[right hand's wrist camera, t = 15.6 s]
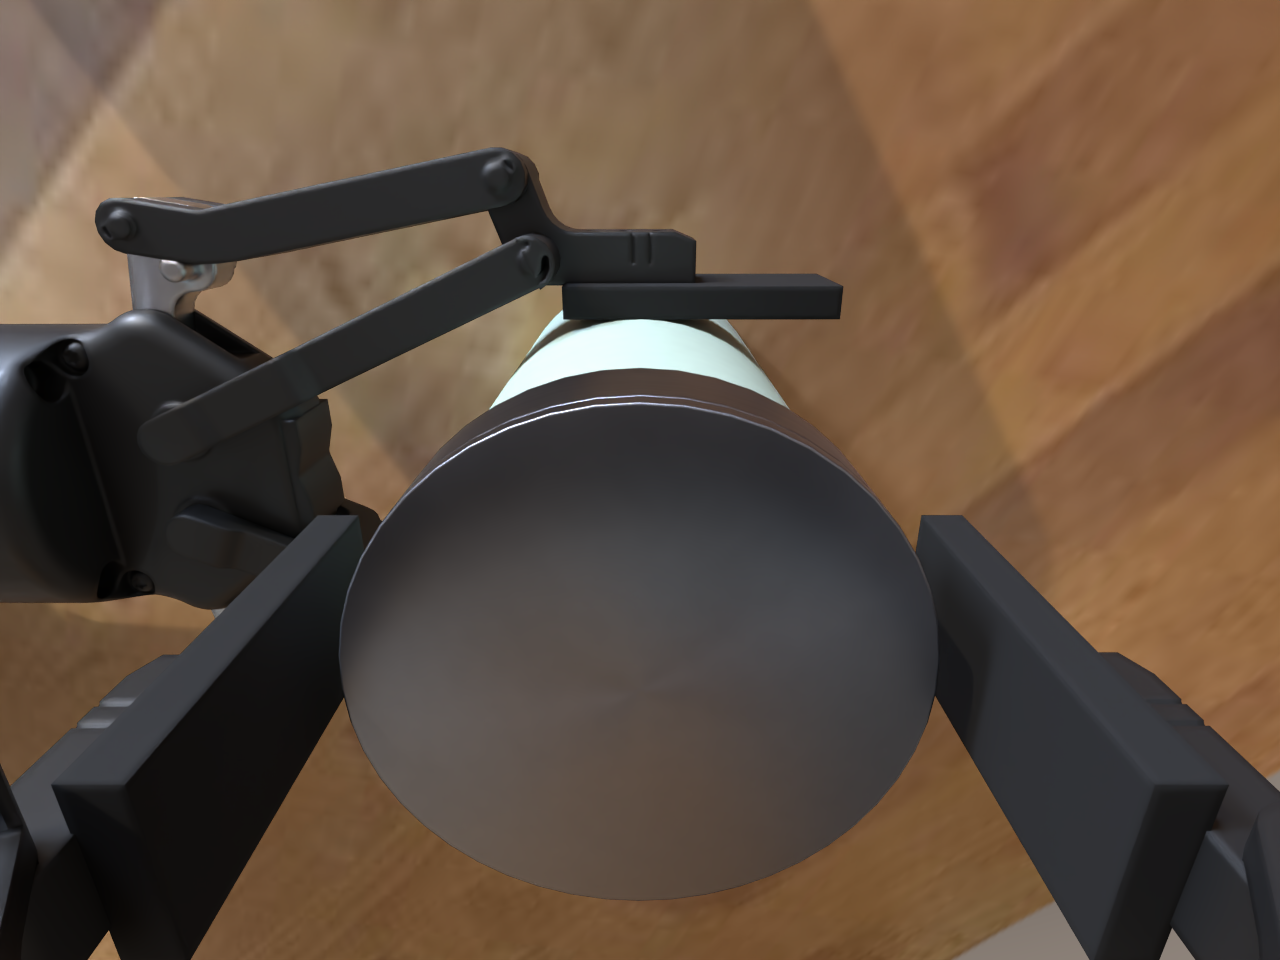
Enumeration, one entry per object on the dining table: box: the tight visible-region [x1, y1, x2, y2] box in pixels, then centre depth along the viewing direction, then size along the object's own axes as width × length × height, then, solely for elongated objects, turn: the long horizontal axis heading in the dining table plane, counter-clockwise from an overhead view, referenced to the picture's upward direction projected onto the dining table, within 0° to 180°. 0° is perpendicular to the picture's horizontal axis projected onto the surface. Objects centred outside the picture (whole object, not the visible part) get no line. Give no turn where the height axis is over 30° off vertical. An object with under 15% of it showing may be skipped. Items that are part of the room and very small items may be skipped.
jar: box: [490, 310, 790, 410], centre depth 18 cm, size 8×8×15 cm
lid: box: [339, 368, 940, 901], centre depth 12 cm, size 9×9×2 cm
